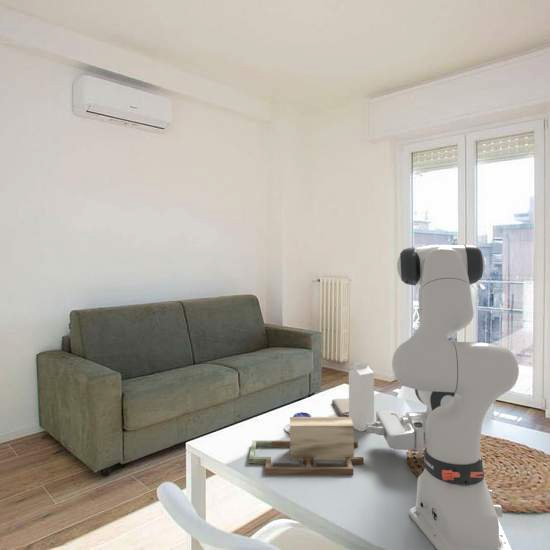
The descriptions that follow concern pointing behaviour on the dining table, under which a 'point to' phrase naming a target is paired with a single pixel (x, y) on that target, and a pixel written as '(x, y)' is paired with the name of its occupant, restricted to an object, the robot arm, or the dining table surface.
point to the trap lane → (296, 467)
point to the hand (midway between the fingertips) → (366, 428)
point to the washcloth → (342, 406)
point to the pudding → (297, 416)
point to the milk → (361, 395)
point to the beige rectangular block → (321, 438)
